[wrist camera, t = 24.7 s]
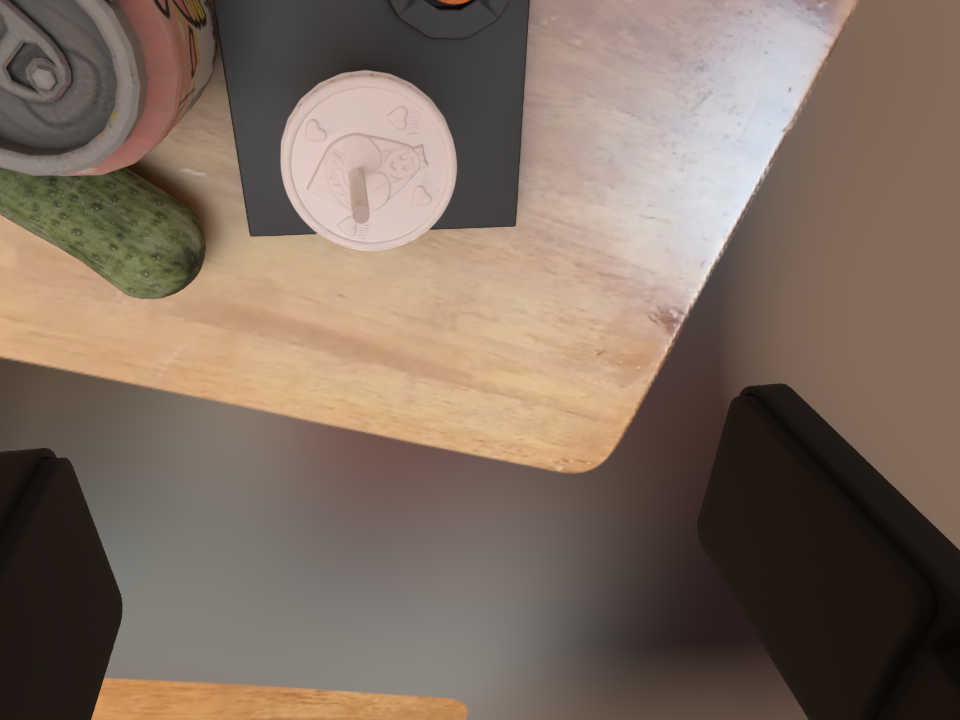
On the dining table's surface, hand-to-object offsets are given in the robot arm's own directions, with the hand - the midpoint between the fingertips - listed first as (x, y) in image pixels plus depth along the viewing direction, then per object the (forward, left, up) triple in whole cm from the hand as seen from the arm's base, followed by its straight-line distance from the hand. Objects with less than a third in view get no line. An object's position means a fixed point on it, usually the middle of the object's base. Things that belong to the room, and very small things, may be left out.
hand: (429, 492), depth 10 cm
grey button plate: (-2, +1, -28) cm, 28 cm away
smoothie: (0, 0, -27) cm, 27 cm away
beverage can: (-4, -10, -28) cm, 30 cm away
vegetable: (+3, -14, -28) cm, 32 cm away
